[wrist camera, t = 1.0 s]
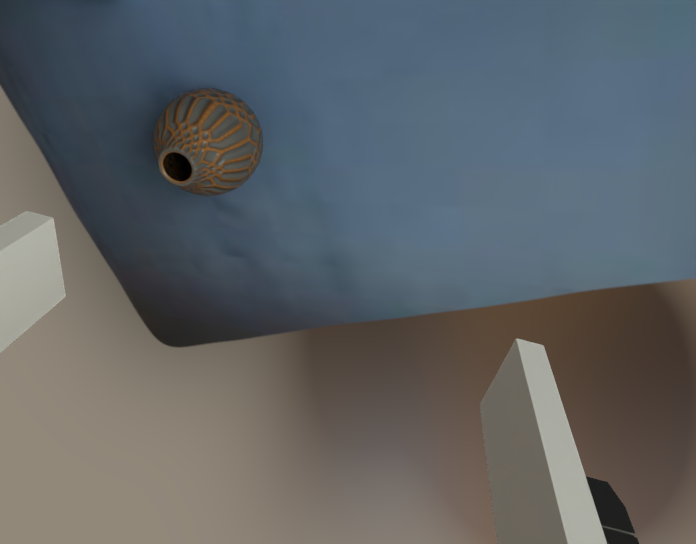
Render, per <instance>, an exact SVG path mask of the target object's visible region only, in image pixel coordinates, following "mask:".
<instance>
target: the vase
mask: <svg viewBox="0 0 696 544" xmlns="http://www.w3.org/2000/svg"><path fill="white" fill-rule="evenodd" d="M153 148H154V154H155V157H156V160H157V162H158V167H159V170H160V172H161V174H162V176H163V177H164V178H165V179H166V180H167V181H168V182H170V183H171V184H173V185H176V186H178V187H180V188H181V189H183V190H185V191H187V192H190V193H193V194H197V195H204V196H212V195H219V194H224V193H227V192H230V191H232V190H234V189H236V188H238V187H239V186H241V185H242V184H243V183H244V182H245V181H246V180H247V179H248V178H249V177H250V176H251V175H252V174H253V172H254V171H255V169H256V167H257V166H258V164H259V161H260V158H261V154H262V149H263V136H262V131H261V127H260V124H259V122H258V120H257V118H256V116H255V114H254V113H253V111H252V110H251V109H250V108H249V106H248V105H247V104H246V103H245V102H243V101H242V100H241V99H239V98H238V97H236V96H235V95H233V94H230V93H228V92H225V91H222V90H218V89H209V88H206V89H198V90H193V91H190V92H187V93H185V94H182V95H181V96H179V97H177V98H176V99H174V100H173V101H172V102H171V103H169V104H168V105H167V107H166V108H165V109H164V110H163V112H162V113H161V115H160V117H159V119H158V120H157V123H156V126H155V129H154V134H153Z"/></svg>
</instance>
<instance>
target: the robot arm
mask: <svg viewBox="0 0 696 544" xmlns="http://www.w3.org/2000/svg"><path fill="white" fill-rule="evenodd" d="M65 296H66V295H65V288H64V283H63V275H62V269H61V263H60V256H59V250H58V243H57V237H56V231H55V224H54V218H53V217H49V216H45V215H41V214H37V213H34V212H30V211H25V212H24V213H22V214H20V215H18V216H16V217H15V218H13V219H11V220H9V221H8V222H6V223H4V224H2V225H1V226H0V353H1V352H2V351H3V350H4V349H6V348H7V347H8V346H9V345H10V344H11V343H12V342H14V341H15V340H16V339H17V338H18V337H19V336H21V335H22V334H23V333H24V332H25V331H26V330H27V329H29V328H30V327H31V326H32V325H33V324H34V323H36V322H37V321H38V320H39V319H40V318H41V317H42V316H43V315H45V314H46V313H47V312H48V311H49V310H51V309H52V308H53V307H54V306H55V305H56V304H58V303H59V302H60V301H61V300H62V299H63V298H64V297H65ZM480 411H481V419H482V427H483V435H484V443H485V451H486V459H487V467H488V475H489V483H490V491H491V499H492V507H493V515H494V523H495V530H496V539H497V544H639V542H638V540H637V538H635V537H634V533H635V532H634V529H633V527H632V524H631V521H630V519H629V516H628V513H627V511H626V508H625V506H624V505H623V503H622V502H621V500H620V499H619V498H618V496H617V495H616V494H615V492H614V491H613V490H612V488H611V486H610V485H609V484H608V482H605V481H601V480H597V479H593V478H590V477H586V476H585V473H584V470H583V467H582V464H581V461H580V458H579V454H578V451H577V448H576V445H575V442H574V439H573V436H572V433H571V430H570V426H569V423H568V420H567V417H566V414H565V411H564V408H563V405H562V402H561V398H560V396H559V393H558V389H557V386H556V383H555V380H554V377H553V374H552V371H551V367H550V364H549V361H548V358H547V355H546V352H545V349H544V346H543V345H540V344H536V343H532V342H528V341H525V340H521V339H516V340H515V341H514V343H513V345H512V347H511V349H510V351H509V352H508V354H507V356H506V358H505V360H504V361H503V363H502V365H501V367H500V369H499V371H498V372H497V374H496V376H495V378H494V380H493V382H492V384H491V385H490V387H489V389H488V391H487V392H486V394H485V396H484V398H483V400H482V402H481V403H480Z"/></svg>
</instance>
